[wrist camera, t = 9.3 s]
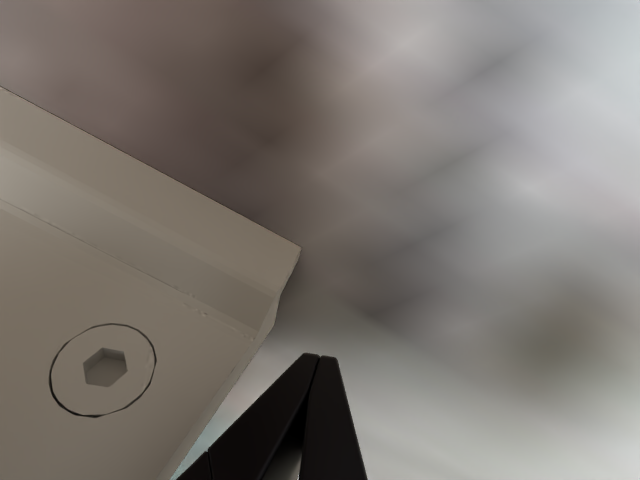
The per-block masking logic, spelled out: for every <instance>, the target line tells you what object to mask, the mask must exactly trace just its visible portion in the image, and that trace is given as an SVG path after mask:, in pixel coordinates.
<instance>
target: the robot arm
mask: <svg viewBox="0 0 640 480" xmlns="http://www.w3.org/2000/svg"><path fill="white" fill-rule="evenodd" d="M299 472H300V473H299ZM298 475H299V480H368V479H367V475H366V471H365V467H364V463H363V459H362V455H361V451H360V447H359V443H358V439H357V435H356V431H355V427H354V423H353V420H352V416H351V412H350V408H349V404H348V400H347V396H346V392H345V388H344V384H343V380H342V376H341V372H340V368H339V364H338V360H337V358H335V357H330V356H321V357H320V356H319V355H317V354H311V353H303V354H302V355H301V356H300V357H299V358H298V359H297V360H296V361H295V362H294V363H293V364H292V365H291V366H290V367H289V368H288V369H287V370H286V371H285V372H284V373H283V374H282V375H281V376H280V377H279V378H278V379H277V380H276V381H275V382H274V383H273V384H272V385H271V386H270V387H269V388H268V389H267V390H266V391H265V392H264V393H263V394H262V395H261V396H260V397H259V398H258V399H257V400H256V401H255V402H254V403H253V404H252V405H251V406H250V407H249V408H248V409H247V410H246V411H245V412H244V413H243V414H242V415H241V416H240V417H239V418H238V419H237V420H236V421H235V422H234V423H233V424H232V425H231V426H230V427H229V428H228V429H227V430H226V431H225V432H224V433H223V434H222V435H221V436H220V437H219V438H218V439H217V440H216V441H215V442H214V443H213V444H212V445H211V446H210V447H209V448H208V452H207V451H205V452H204V453H203V454H202V455H201V456H200V457H199V458H198V459H197V460H196V461H195V462H194V463H193V464H192V465H191V466H190V467H189V468H188V469H187V470H186V471H185V472H184V473H182V474H181V475H180V476H179V477H178V478H177V479H176V480H297V478H298Z"/></svg>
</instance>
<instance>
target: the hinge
mask: <svg viewBox="0 0 640 480" xmlns="http://www.w3.org/2000/svg"><path fill="white" fill-rule="evenodd" d="M301 249H302V247H300V246H298V245H296V244H294V243H292V242H290V241H288V240H287V239H285V238H283V237H281V236H279V235H277V234H275V233H274V232H272V231H270V230H268V229H266V228H264V227H262V226H260V225H259V224H257V223H255V222H253V221H251V220H249V219H247V218H245V217H244V216H242V215H240V214H238V213H236V212H234V211H232V210H230V209H229V208H227V207H225V206H223V205H221V204H219V203H217V202H216V201H214V200H212V199H210V198H208V197H206V196H204V195H202V194H201V193H199V192H197V191H195V190H193V189H191V188H189V187H187V186H186V185H184V184H182V183H180V182H178V181H176V180H174V179H172V178H171V177H169V176H167V175H165V174H163V173H161V172H159V171H158V170H156V169H154V168H152V167H150V166H148V165H146V164H144V163H143V162H141V161H139V160H137V159H135V158H133V157H131V156H129V155H128V154H126V153H124V152H122V151H120V150H118V149H116V148H114V147H113V146H111V145H109V144H107V143H105V142H103V141H101V140H100V139H98V138H96V137H94V136H92V135H90V134H88V133H86V132H85V131H83V130H81V129H79V128H77V127H75V126H73V125H71V124H70V123H68V122H66V121H64V120H62V119H60V118H58V117H56V116H55V115H53V114H51V113H49V112H47V111H45V110H43V109H42V108H40V107H38V106H36V105H34V104H32V103H30V102H28V101H27V100H25V99H23V98H21V97H19V96H17V95H15V94H13V93H12V92H10V91H8V90H6V89H4V88H2V87H0V480H170V478H171V477H172V475H173V474H174V472H175V471H176V469H177V468H178V466H179V465H180V464H181V462H182V461H183V459H184V458H185V456H186V455H187V453H188V452H189V450H190V449H191V447H192V446H193V444H194V443H195V442H196V440H197V439H198V437H199V436H200V434H201V433H202V431H203V430H204V428H205V427H206V425H207V424H208V422H209V421H210V419H211V418H212V417H213V415H214V414H215V412H216V411H217V409H218V408H219V406H220V405H221V403H222V402H223V400H224V399H225V397H226V396H227V395H228V393H229V392H230V390H231V389H232V387H233V386H234V384H235V383H236V381H237V380H238V378H239V377H240V375H241V374H242V373H243V371H244V370H245V368H246V367H247V365H248V364H249V362H250V361H251V359H252V358H253V356H254V355H255V353H256V352H257V351H258V349H259V348H260V346H261V345H262V343H263V342H264V339H265V338H266V336H267V335H268V333H269V332H270V331H271V329H272V328H273V326H274V324H275V319H276V314H277V309H278V304H279V299H280V295H281V293H282V291H283V289H284V287H285V285H286V283H287V281H288V279H289V277H290V275H291V273H292V271H293V269H294V267H295V265H296V264H297V262H298V259H299V256H300V252H301Z"/></svg>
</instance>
